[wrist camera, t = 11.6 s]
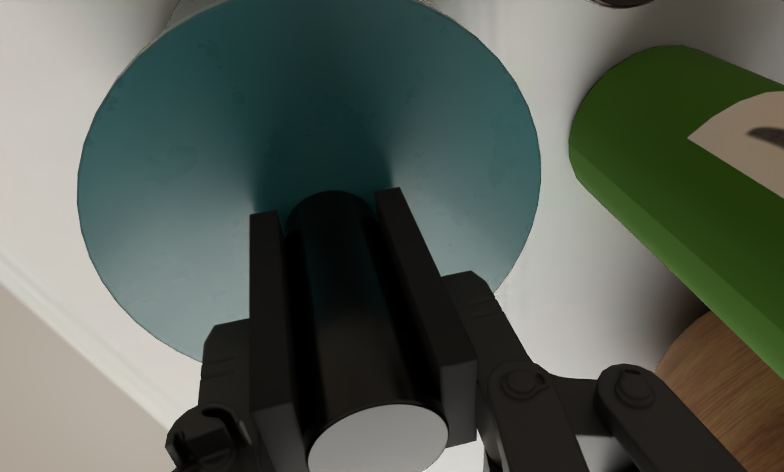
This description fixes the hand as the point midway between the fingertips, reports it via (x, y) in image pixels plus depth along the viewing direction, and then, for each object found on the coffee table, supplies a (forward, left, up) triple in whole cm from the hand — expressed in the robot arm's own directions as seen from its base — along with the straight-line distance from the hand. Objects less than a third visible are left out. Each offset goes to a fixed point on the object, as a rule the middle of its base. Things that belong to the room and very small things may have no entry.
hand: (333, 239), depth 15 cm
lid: (0, 0, -1) cm, 1 cm away
